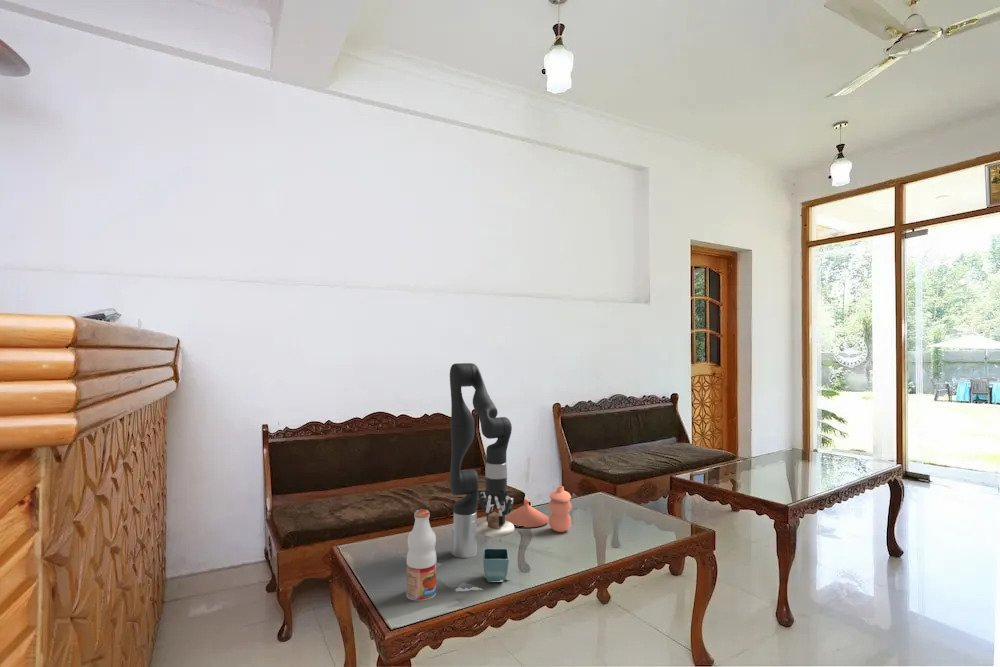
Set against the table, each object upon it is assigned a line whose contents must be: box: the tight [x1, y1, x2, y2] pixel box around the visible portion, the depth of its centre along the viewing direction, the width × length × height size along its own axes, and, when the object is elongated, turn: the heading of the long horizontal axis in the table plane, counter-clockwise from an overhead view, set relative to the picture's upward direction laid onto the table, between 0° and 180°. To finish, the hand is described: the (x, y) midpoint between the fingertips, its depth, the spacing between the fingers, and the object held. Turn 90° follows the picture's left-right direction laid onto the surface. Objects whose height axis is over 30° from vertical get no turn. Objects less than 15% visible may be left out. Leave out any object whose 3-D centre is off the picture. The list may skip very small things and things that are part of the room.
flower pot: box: [482, 548, 510, 583], centre depth 170 cm, size 9×9×9 cm
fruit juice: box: [405, 509, 437, 601], centre depth 157 cm, size 9×9×28 cm
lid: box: [477, 511, 515, 538], centre depth 171 cm, size 13×13×5 cm
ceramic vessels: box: [505, 485, 573, 533], centre depth 224 cm, size 35×21×19 cm, turn 46°
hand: (495, 524), depth 171 cm, fingers closed on lid, 4 cm apart
